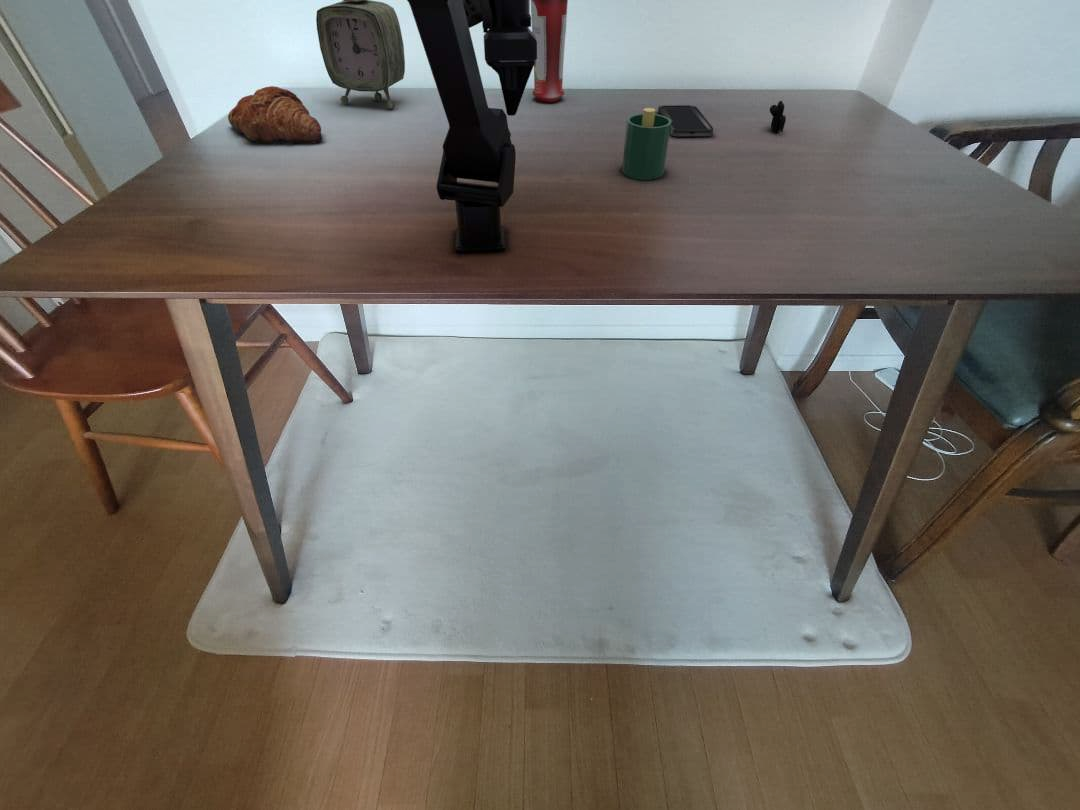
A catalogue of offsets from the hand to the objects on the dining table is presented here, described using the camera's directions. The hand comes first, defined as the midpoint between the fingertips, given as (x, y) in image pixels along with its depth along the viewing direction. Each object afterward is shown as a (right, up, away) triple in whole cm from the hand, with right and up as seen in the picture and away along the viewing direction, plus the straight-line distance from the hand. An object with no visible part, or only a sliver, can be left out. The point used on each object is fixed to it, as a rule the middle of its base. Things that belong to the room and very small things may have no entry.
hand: (509, 104), depth 79 cm
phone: (+32, +14, +34) cm, 48 cm away
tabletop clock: (-31, +22, +43) cm, 57 cm away
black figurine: (+49, +11, +31) cm, 59 cm away
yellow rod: (+21, -2, +16) cm, 26 cm away
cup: (+21, -3, +16) cm, 27 cm away
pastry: (-45, +9, +29) cm, 55 cm away
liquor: (+6, +24, +45) cm, 52 cm away
